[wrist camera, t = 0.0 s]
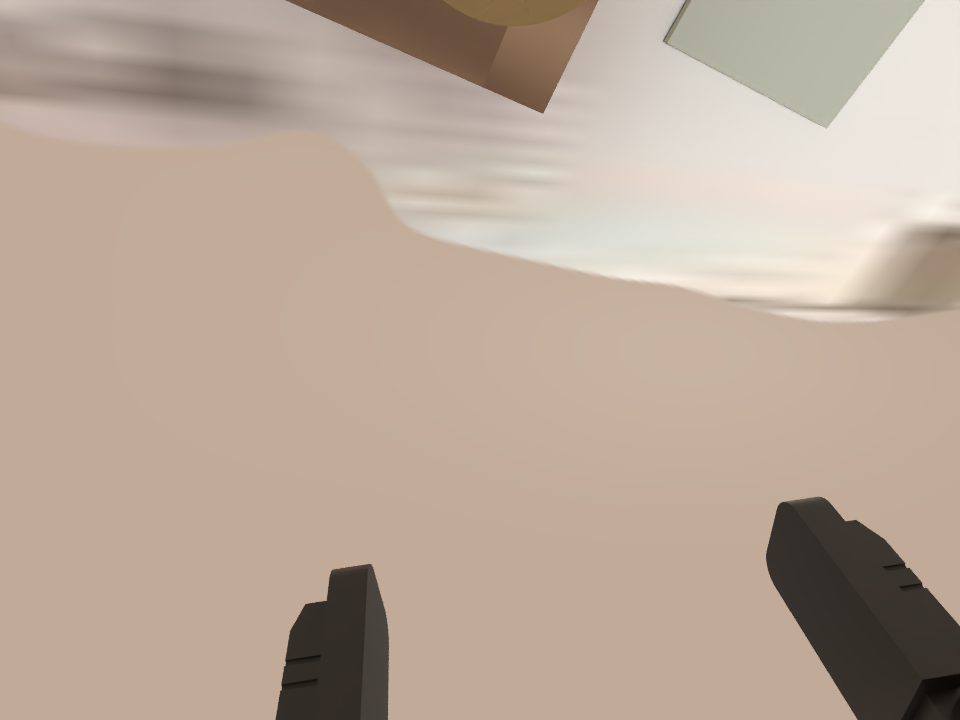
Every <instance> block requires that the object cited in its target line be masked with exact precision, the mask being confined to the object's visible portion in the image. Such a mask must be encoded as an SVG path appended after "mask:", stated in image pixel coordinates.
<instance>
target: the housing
mask: <svg viewBox="0 0 960 720" xmlns="http://www.w3.org/2000/svg"><path fill="white" fill-rule="evenodd" d="M287 1H289V2H291V3H293V4H296V5H298V6H300V7H302V8H305V9H307V10H309V11H311V12H314V13H316V14H318V15H321V16H323V17H325V18H327V19H330V20H332V21H334V22H336V23H339V24H341V25H343V26H345V27H348V28H350V29H352V30H355V31H357V32H359V33H361V34H364V35H366V36H368V37H370V38H373V39H375V40H377V41H379V42H382V43H384V44H386V45H389V46H391V47H393V48H395V49H398V50H400V51H402V52H404V53H407V54H409V55H411V56H413V57H416V58H418V59H420V60H423V61H425V62H427V63H429V64H432V65H434V66H436V67H438V68H441V69H443V70H445V71H447V72H450V73H452V74H454V75H457V76H459V77H461V78H463V79H466V80H468V81H470V82H472V83H475V84H477V85H479V86H481V87H484V88H486V89H488V90H491V91H493V92H495V93H497V94H500V95H502V96H504V97H506V98H509V99H511V100H513V101H515V102H518V103H520V104H522V105H525V106H527V107H529V108H531V109H534V110H536V111H538V112H540V113H544V111H545V109H546V107H547V105H548V103H549V100H550V98H551V96H552V94H553V92H554V90H555V88H556V86H557V84H558V82H559V80H560V78H561V76H562V74H563V72H564V70H565V68H566V66H567V64H568V62H569V60H570V57H571V55H572V53H573V51H574V49H575V47H576V45H577V43H578V41H579V39H580V37H581V35H582V33H583V31H584V29H585V27H586V25H587V23H588V21H589V19H590V17H591V14H592V12H593V10H594V8H595V6H596V4H597V2H598V0H587V1H585V2H584V3H583V4H581V5H580V6H578V7H577V8H575V9H574V10H572V11H570V12H568V13H566V14H564V15H562V16H560V17H557V18H555V19H552V20H549V21H547V22H543V23H538V24H533V25H527V26H502V25H495V24H491V23H487V22H482V21H480V20H477V19H475V18H472V17H470V16H467V15H465V14H464V13H462V12H460V11H458V10H457V9H455V8H453V7H452V6H450V5H449V4H448V3H446V2H445V1H444V0H287Z"/></svg>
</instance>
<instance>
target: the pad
mask: <svg viewBox="0 0 960 720" xmlns="http://www.w3.org/2000/svg"><path fill="white" fill-rule="evenodd" d="M924 1H925V0H687V1H686V3H685V5H684V6H683V8H682V10H681V12H680V13H679V15H678V17H677V19H676V20H675V22H674V24H673V26H672V28H671V29H670V31H669V33H668V35H667V36H666V38H665V40H664V42H666V43H667V44H669V45H671V46H673V47H675V48H676V49H678V50H680V51H682V52H684V53H686V54H688V55H690V56H691V57H693V58H695V59H697V60H699V61H701V62H703V63H705V64H706V65H708V66H710V67H712V68H714V69H716V70H718V71H720V72H722V73H723V74H725V75H727V76H729V77H731V78H733V79H735V80H737V81H738V82H740V83H742V84H744V85H746V86H748V87H750V88H752V89H753V90H755V91H757V92H759V93H761V94H763V95H765V96H767V97H769V98H770V99H772V100H774V101H776V102H778V103H780V104H782V105H784V106H785V107H787V108H789V109H791V110H793V111H795V112H797V113H799V114H800V115H802V116H804V117H806V118H808V119H810V120H812V121H814V122H816V123H817V124H819V125H821V126H823V127H825V128H827V127H828V126H829V125H830V123H831V122H832V121H833V120H834V118H835V117H836V116H837V114H838V113H839V112H840V110H841V109H842V108H843V107H844V105H845V104H846V103H847V101H848V100H849V99H850V97H851V96H852V95H853V93H854V92H855V91H856V90H857V88H858V87H859V86H860V84H861V83H862V82H863V80H864V79H865V78H866V77H867V75H868V74H869V73H870V71H871V70H872V69H873V67H874V66H875V65H876V63H877V62H878V61H879V60H880V58H881V57H882V56H883V54H884V53H885V52H886V50H887V49H888V48H889V47H890V45H891V44H892V43H893V41H894V40H895V39H896V37H897V36H898V35H899V33H900V32H901V31H902V30H903V28H904V27H905V26H906V24H907V23H908V22H909V20H910V19H911V18H912V17H913V15H914V14H915V13H916V11H917V10H918V9H919V7H920V6H921V5H922V3H923V2H924Z"/></svg>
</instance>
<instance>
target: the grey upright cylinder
mask: <svg viewBox="0 0 960 720" xmlns="http://www.w3.org/2000/svg"><path fill="white" fill-rule="evenodd" d="M444 1H445V2H446V3H448V4H449V5H450V6H452V7H453V8H455V9H457V10H458V11H460V12H462V13H464V14H465V15H467V16H470V17H472V18H475V19H477V20H480V21H482V22H487V23H491V24H495V25H502V26H527V25H533V24H538V23H543V22H547V21H549V20H552V19H555V18H557V17H560V16H562V15H564V14H566V13H568V12H570V11H572V10H574V9H575V8H577V7H578V6H580V5H581V4H583V3H584V2H585V1H587V0H444Z"/></svg>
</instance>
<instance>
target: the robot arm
mask: <svg viewBox="0 0 960 720" xmlns="http://www.w3.org/2000/svg"><path fill="white" fill-rule="evenodd" d="M766 561H767V567H768V571H769V574H770V577H771V579H772V581H773V584H774V585H775V587H776V589H777V590H778V592H779V594H780V595H781V597H782V598H783V600H784V602H785V603H786V605H787V607H788V608H789V610H790V611H791V613H792V615H793V616H794V618H795V619H796V621H797V623H798V624H799V626H800V627H801V629H802V631H803V632H804V634H805V636H806V637H807V639H808V640H809V642H810V644H811V645H812V647H813V648H814V650H815V652H816V653H817V655H818V656H819V658H820V660H821V661H822V663H823V665H824V666H825V668H826V669H827V671H828V672H829V674H830V676H831V677H832V679H833V681H834V682H835V684H836V686H837V687H838V689H839V690H840V692H841V694H842V695H843V697H844V698H845V700H846V702H847V703H848V705H849V706H850V708H851V710H852V711H853V713H854V714H855V716H856V718H857V719H858V720H960V626H959V625H958V624H957V622H956V621H955V620H954V619H953V618H952V617H951V615H950V614H949V613H948V612H947V611H946V610H945V609H944V607H943V606H942V605H941V604H940V603H939V602H938V601H937V599H936V598H935V597H934V596H933V595H932V594H931V593H930V591H929V590H928V589H927V588H924V587H923V586H922V582H921V581H920V580H919V579H918V577H917V576H916V575H915V574H914V573H913V572H912V570H911V569H910V568H906V566H905V562H904V561H903V560H902V559H901V558H900V557H899V555H898V554H897V553H896V552H895V551H894V550H893V549H892V548H891V546H890V545H889V544H888V543H887V542H886V540H885V539H883V538H882V537H880V536H879V535H877V534H876V533H874V532H873V531H871V530H870V529H868V528H867V527H866V526H864V525H863V524H861V523H860V522H858V521H857V520H853V521H847V522H845V521H844V519H843V518H842V517H841V516H840V514H839V513H838V512H837V511H836V510H835V508H834V507H833V506H832V505H831V504H830V503H829V501H827V500H826V499H825V498H822V497H813V498H807V499H800V500H794V501H787V502H782V503H780V504H779V506H778V508H777V511H776V515H775V519H774V524H773V528H772V532H771V537H770V540H769V544H768V548H767V553H766ZM329 579H330V580H329V587H328V596H327V601H323V602H316V603H309V604H305V606H304V608H303V609H302V611H301V613H300V615H299V617H298V618H297V620H296V622H295V624H294V625H293V627H292V629H291V631H290V635H289V642H288V648H287V654H286V660H285V661H286V666H285V667H284V672H283V679H282V690H281V691H280V697H279V702H278V709H277V715H276V720H388V666H389V665H388V663H389V662H388V661H389V637H388V625H387V618H386V612H385V609H384V606H383V601H382V598H381V595H380V591H379V587H378V584H377V580H376V577H375V573H374V570H373V567H372V565H371V564H366V565H360V566H353V567H347V568H340V569H334V570H332V571H331V574H330V578H329Z"/></svg>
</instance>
